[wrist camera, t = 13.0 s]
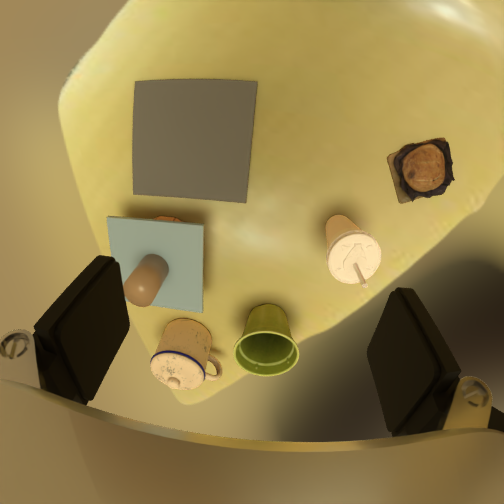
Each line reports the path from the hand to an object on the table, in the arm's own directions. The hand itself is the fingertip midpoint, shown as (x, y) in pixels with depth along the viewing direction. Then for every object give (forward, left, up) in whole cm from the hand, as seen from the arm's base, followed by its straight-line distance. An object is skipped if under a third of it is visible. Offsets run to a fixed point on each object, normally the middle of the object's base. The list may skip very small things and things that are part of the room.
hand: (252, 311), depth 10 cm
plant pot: (+25, +3, -31) cm, 40 cm away
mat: (-2, -10, -30) cm, 32 cm away
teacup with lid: (+32, -9, -31) cm, 45 cm away
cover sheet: (+14, -13, -25) cm, 31 cm away
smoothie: (+8, +11, -31) cm, 33 cm away
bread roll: (-2, +22, -31) cm, 38 cm away
